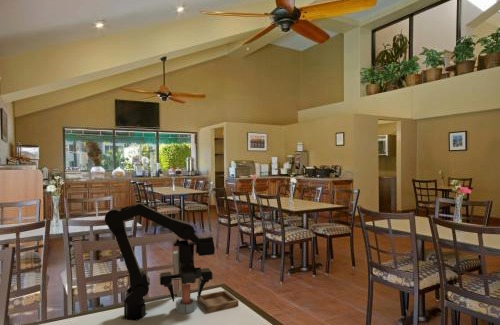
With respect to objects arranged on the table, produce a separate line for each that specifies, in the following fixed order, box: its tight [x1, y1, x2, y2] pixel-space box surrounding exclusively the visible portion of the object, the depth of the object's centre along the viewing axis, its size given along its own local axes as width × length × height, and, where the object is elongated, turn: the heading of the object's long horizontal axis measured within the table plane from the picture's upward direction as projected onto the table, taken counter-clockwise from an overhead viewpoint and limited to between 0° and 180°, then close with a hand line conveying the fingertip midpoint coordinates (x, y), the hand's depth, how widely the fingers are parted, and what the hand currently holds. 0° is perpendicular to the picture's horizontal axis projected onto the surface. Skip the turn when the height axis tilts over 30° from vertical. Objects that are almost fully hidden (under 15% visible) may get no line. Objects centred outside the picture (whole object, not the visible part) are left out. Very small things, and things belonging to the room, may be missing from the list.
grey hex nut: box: [175, 297, 198, 315], centre depth 124 cm, size 7×7×3 cm
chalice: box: [173, 250, 182, 298], centre depth 138 cm, size 7×7×18 cm
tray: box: [196, 290, 239, 314], centre depth 129 cm, size 12×12×2 cm
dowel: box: [181, 283, 191, 305], centre depth 124 cm, size 3×3×9 cm
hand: (186, 299), depth 124 cm, fingers open, 9 cm apart
